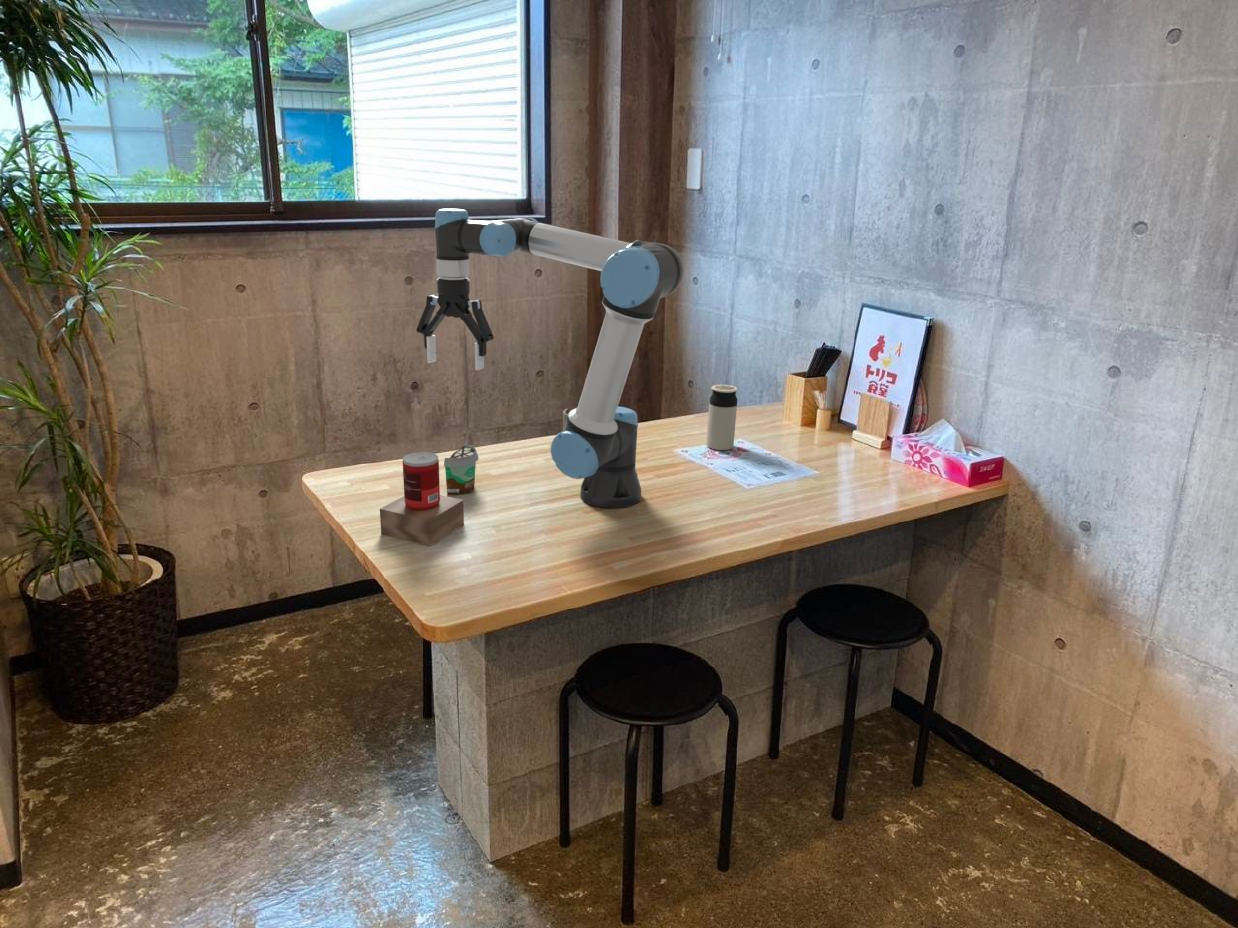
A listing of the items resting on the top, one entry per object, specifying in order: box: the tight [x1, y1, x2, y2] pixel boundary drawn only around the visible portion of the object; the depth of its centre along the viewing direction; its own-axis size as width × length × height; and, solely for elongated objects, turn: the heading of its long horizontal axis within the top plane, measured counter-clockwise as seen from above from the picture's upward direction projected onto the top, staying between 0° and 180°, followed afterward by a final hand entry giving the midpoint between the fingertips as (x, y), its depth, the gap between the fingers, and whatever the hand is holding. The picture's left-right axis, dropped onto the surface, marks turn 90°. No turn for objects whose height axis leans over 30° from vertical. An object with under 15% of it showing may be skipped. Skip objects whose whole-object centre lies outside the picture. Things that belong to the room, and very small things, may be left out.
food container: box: [443, 443, 480, 496], centre depth 219 cm, size 12×6×10 cm, turn 168°
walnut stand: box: [379, 494, 465, 547], centre depth 197 cm, size 13×13×6 cm
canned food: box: [402, 451, 441, 511], centre depth 194 cm, size 8×8×11 cm
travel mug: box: [706, 384, 738, 451], centre depth 257 cm, size 8×8×18 cm
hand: (455, 365), depth 214 cm, fingers open, 13 cm apart
